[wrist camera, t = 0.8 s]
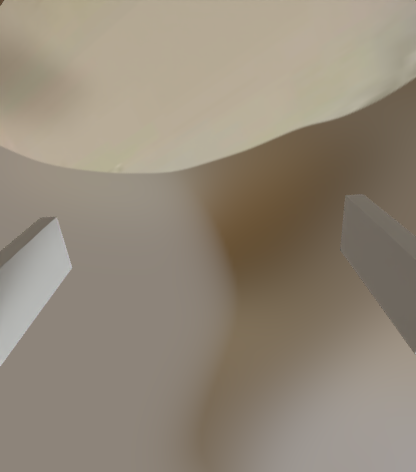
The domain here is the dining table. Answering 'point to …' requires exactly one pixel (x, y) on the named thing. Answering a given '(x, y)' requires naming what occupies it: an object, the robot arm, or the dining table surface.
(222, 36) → the dining table surface
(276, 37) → the dining table surface
